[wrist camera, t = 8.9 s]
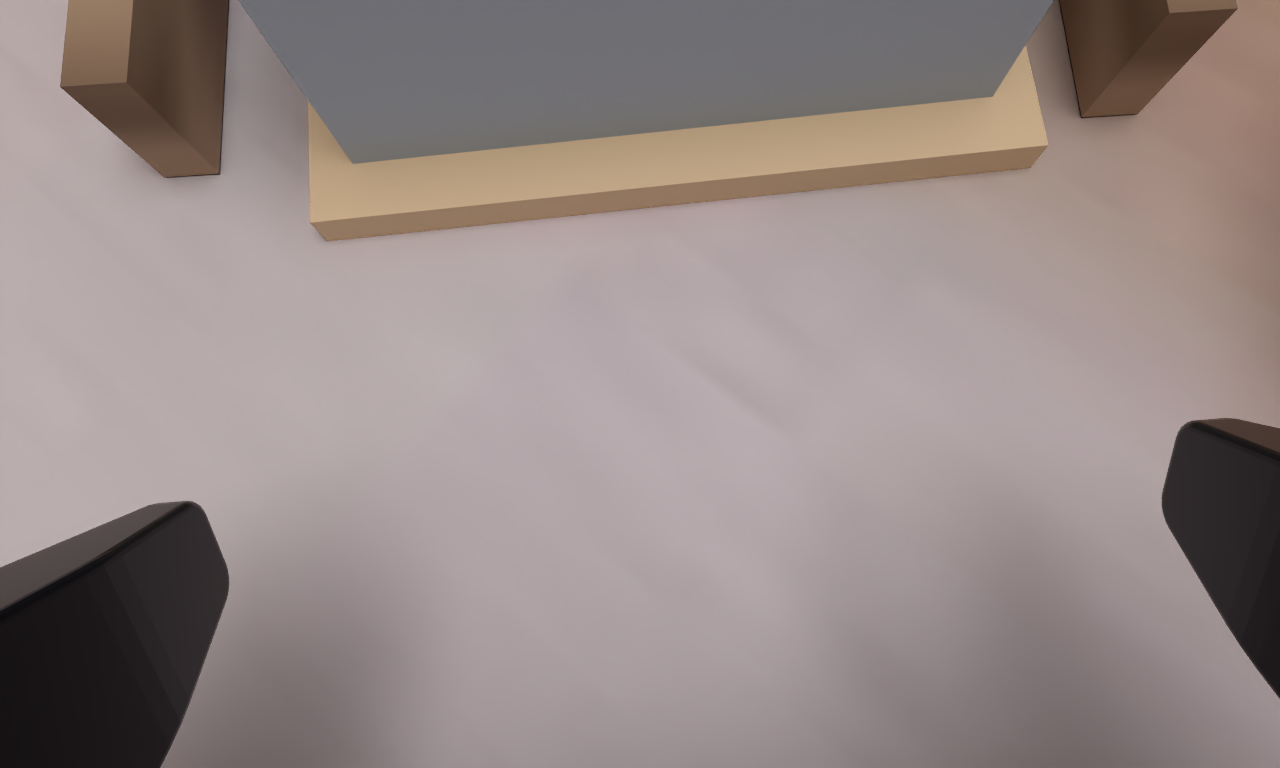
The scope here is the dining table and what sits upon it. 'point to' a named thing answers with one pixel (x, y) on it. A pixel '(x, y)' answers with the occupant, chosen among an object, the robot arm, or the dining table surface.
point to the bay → (196, 49)
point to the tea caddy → (642, 101)
